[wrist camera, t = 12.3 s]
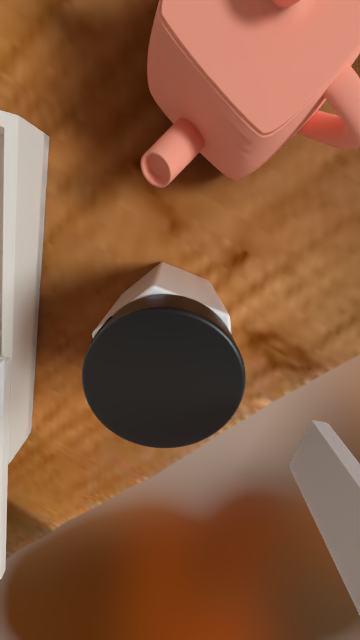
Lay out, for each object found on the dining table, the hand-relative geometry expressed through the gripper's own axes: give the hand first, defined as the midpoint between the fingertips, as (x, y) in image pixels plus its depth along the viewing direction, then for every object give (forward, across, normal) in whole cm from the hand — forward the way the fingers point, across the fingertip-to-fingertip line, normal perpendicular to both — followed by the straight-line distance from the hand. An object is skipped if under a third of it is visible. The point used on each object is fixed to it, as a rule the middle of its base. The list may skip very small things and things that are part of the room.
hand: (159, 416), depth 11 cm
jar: (+14, 0, 0) cm, 14 cm away
